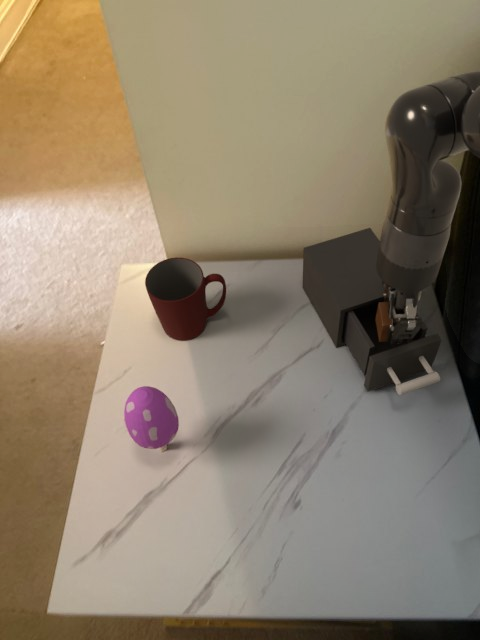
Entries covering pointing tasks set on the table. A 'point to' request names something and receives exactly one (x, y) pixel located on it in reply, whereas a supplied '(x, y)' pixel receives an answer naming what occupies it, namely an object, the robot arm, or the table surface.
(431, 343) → the drawer
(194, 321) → the mug
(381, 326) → the block
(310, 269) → the cabinet
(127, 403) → the toy
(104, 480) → the table surface
